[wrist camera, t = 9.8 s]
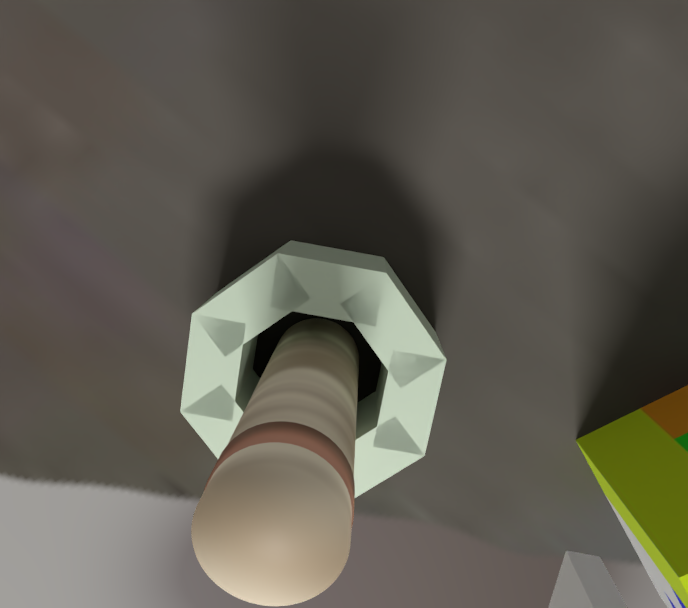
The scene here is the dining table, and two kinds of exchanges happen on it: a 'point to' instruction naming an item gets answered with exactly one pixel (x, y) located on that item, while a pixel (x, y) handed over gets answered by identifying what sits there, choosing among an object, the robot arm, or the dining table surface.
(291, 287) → the bead
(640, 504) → the puzzle toy
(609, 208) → the dining table surface
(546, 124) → the dining table surface
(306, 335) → the striped rounded cylinder
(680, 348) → the dining table surface
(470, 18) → the dining table surface
